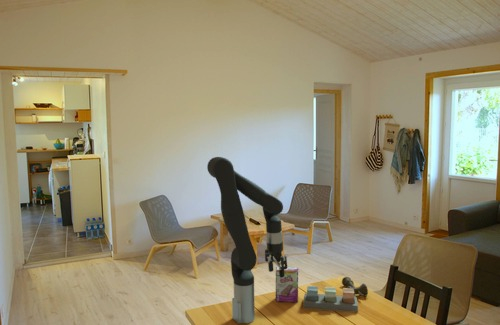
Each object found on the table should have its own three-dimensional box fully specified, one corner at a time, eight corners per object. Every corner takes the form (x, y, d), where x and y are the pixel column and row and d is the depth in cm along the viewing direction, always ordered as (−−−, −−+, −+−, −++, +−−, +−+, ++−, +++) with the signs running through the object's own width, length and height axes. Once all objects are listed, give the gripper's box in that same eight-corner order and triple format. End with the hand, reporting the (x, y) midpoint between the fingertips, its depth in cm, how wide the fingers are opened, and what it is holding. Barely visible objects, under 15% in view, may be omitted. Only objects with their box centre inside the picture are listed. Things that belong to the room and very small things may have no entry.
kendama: (354, 285, 218) (371, 300, 198) (337, 287, 216) (353, 302, 197) (354, 274, 218) (371, 288, 198) (337, 276, 216) (353, 290, 196)
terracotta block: (354, 303, 189) (354, 293, 188) (343, 302, 190) (343, 292, 189) (353, 298, 194) (353, 288, 193) (342, 297, 195) (342, 288, 194)
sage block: (335, 302, 190) (335, 291, 190) (324, 301, 191) (325, 291, 191) (335, 297, 195) (335, 287, 195) (325, 296, 196) (325, 286, 196)
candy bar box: (275, 302, 198) (275, 270, 196) (275, 297, 203) (275, 266, 201) (298, 302, 197) (298, 270, 195) (298, 298, 202) (298, 266, 200)
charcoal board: (357, 312, 186) (357, 305, 186) (303, 308, 191) (303, 302, 191) (356, 302, 196) (356, 296, 196) (304, 299, 201) (304, 293, 201)
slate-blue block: (317, 300, 192) (317, 290, 191) (307, 300, 193) (307, 290, 192) (317, 296, 197) (317, 286, 196) (307, 295, 198) (307, 285, 197)
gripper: (259, 238, 189) (261, 271, 191) (277, 246, 177) (279, 281, 179) (272, 235, 192) (274, 267, 195) (290, 242, 180) (292, 276, 183)
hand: (276, 274), depth 187 cm, fingers open, 8 cm apart
